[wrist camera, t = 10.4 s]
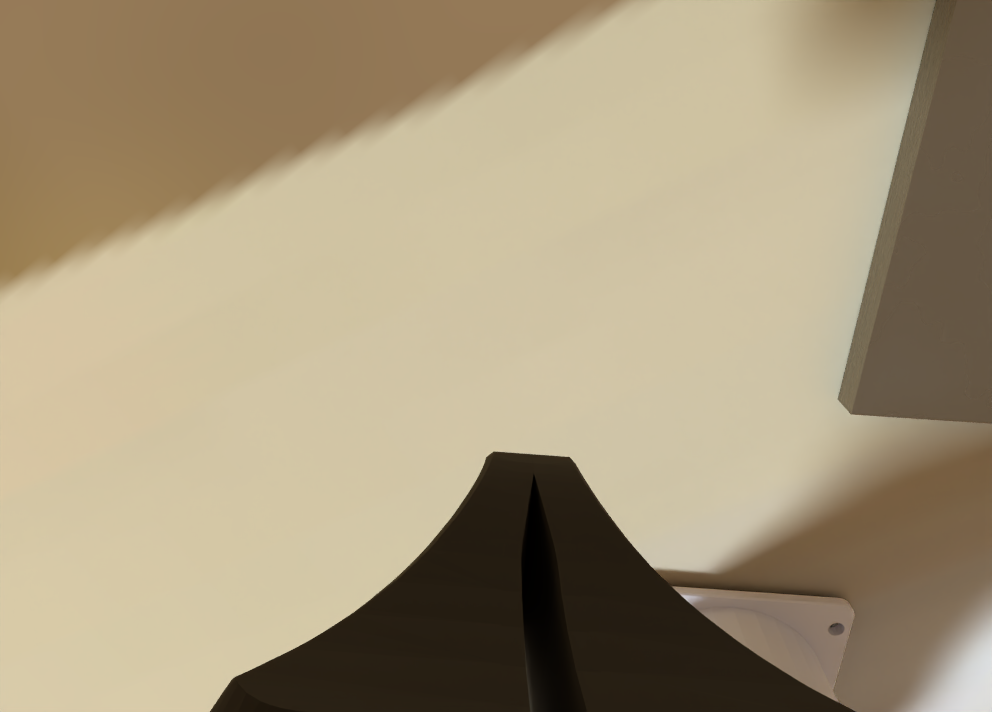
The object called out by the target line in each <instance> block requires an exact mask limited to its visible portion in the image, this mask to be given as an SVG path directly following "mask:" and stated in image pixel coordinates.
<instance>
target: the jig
mask: <svg viewBox="0 0 992 712" xmlns="http://www.w3.org/2000/svg"><path fill="white" fill-rule="evenodd" d="M838 400H839V401H840V402H841V404H842V405H843V406H844V407H845V408H846V409H847V410H848V411H849V412H850V414H854V415H869V416H884V417H900V418H915V419H930V420H946V421H961V422H976V423H992V0H936V3H935V7H934V12H933V16H932V20H931V24H930V28H929V32H928V36H927V40H926V44H925V48H924V52H923V56H922V60H921V64H920V68H919V72H918V76H917V80H916V84H915V89H914V93H913V97H912V101H911V105H910V109H909V113H908V117H907V121H906V125H905V129H904V133H903V137H902V141H901V145H900V149H899V153H898V157H897V162H896V166H895V170H894V174H893V178H892V182H891V186H890V190H889V194H888V198H887V202H886V206H885V210H884V214H883V218H882V222H881V226H880V230H879V235H878V239H877V243H876V247H875V251H874V255H873V259H872V263H871V267H870V271H869V275H868V279H867V283H866V287H865V291H864V295H863V299H862V303H861V308H860V312H859V316H858V320H857V324H856V328H855V332H854V336H853V340H852V344H851V348H850V352H849V356H848V360H847V364H846V368H845V372H844V376H843V381H842V385H841V389H840V393H839V397H838Z"/></svg>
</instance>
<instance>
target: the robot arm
mask: <svg viewBox="0 0 992 712" xmlns="http://www.w3.org/2000/svg"><path fill="white" fill-rule="evenodd" d="M854 617H855V612H854V610H853V608H852V607H851V605H850V603H849V602H848V601H847V600H845V599H842V598H834V597H820V596H805V595H791V594H776V593H762V592H747V591H733V590H718V589H704V588H689V587H675V586H670V585H669V584H668V583H667V582H666V581H665V580H664V579H663V578H662V577H661V576H660V575H659V574H658V573H657V572H656V571H655V570H654V569H653V568H652V567H651V566H650V565H649V564H648V563H647V562H646V560H645V559H644V558H643V557H642V556H641V555H640V554H639V552H638V551H637V550H636V549H635V548H634V547H633V545H632V544H631V543H630V542H629V541H628V539H627V538H626V537H625V536H624V534H623V533H622V532H621V530H620V529H619V528H618V527H617V525H616V524H615V523H614V521H613V520H612V519H611V517H610V516H609V515H608V513H607V512H606V511H605V509H604V508H603V506H602V505H601V504H600V502H599V501H598V499H597V498H596V496H595V495H594V493H593V492H592V490H591V489H590V487H589V486H588V484H587V482H586V481H585V479H584V478H583V476H582V474H581V473H580V471H579V469H578V467H577V466H576V464H575V463H574V462H573V460H572V459H571V458H570V457H561V456H547V455H533V454H519V453H506V452H493V453H491V454H490V455H489V456H487V457H486V460H485V464H484V466H483V468H482V470H481V473H480V475H479V476H478V478H477V480H476V482H475V483H474V485H473V487H472V488H471V490H470V492H469V493H468V495H467V496H466V498H465V499H464V501H463V502H462V503H461V505H460V506H459V508H458V509H457V511H456V512H455V514H454V515H453V516H452V518H451V519H450V520H449V521H448V523H447V524H446V525H445V526H444V528H443V529H442V530H441V531H440V532H439V534H438V535H437V536H436V537H435V538H434V540H433V541H432V542H431V543H430V544H429V545H428V547H427V548H426V549H425V550H424V551H423V552H422V553H421V554H420V555H419V556H418V557H417V558H416V559H415V560H414V561H413V562H412V563H411V564H410V565H409V566H408V567H407V568H406V569H405V570H404V571H403V572H402V573H401V574H400V575H399V576H398V577H397V578H396V579H394V580H393V581H392V582H391V583H390V584H389V585H387V586H386V587H385V588H384V589H383V590H381V591H380V592H379V593H378V594H377V595H375V596H374V597H373V598H372V599H371V600H369V601H368V602H367V603H366V604H364V605H363V606H362V607H360V608H359V609H358V610H356V611H355V612H354V613H352V614H351V615H349V616H348V617H346V618H345V619H343V620H342V621H340V622H339V623H337V624H336V625H334V626H332V627H331V628H329V629H328V630H326V631H325V632H323V633H321V634H320V635H318V636H316V637H315V638H313V639H311V640H310V641H308V642H306V643H304V644H302V645H300V646H299V647H297V648H295V649H293V650H291V651H289V652H287V653H285V654H283V655H281V656H279V657H277V658H274V659H272V660H270V661H268V662H266V663H264V664H262V665H260V666H258V667H256V668H254V669H252V670H250V671H248V672H245V673H243V674H241V675H239V676H236V677H235V678H233V679H232V680H231V682H230V683H229V685H228V686H227V687H226V689H225V690H224V692H223V693H222V695H221V696H220V698H219V699H218V701H217V702H216V704H215V705H214V706H213V708H212V709H211V711H210V712H855V711H853V710H852V709H850V708H848V707H846V706H844V705H842V704H840V703H839V702H838V700H837V698H836V696H835V694H834V692H833V690H834V686H835V683H836V679H837V676H838V672H839V669H840V666H841V662H842V659H843V655H844V652H845V648H846V645H847V641H848V638H849V635H850V631H851V628H852V624H853V621H854ZM834 623H839V624H838V625H836V626H835V627H830V625H832V624H834Z"/></svg>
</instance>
